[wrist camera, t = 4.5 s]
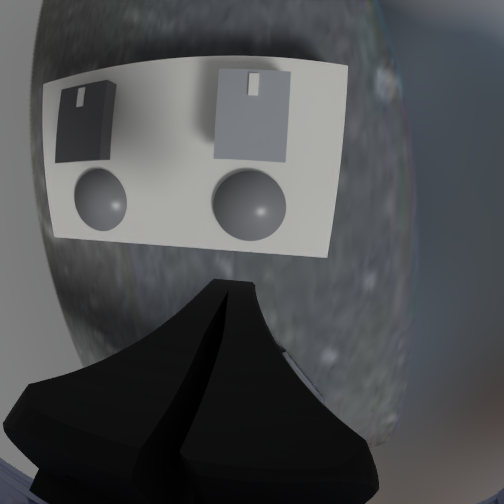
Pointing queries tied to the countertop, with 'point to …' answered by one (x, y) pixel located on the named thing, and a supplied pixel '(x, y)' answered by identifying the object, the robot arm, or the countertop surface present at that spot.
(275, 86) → the block
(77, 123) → the block
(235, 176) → the switch panel
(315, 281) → the countertop surface
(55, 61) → the countertop surface
